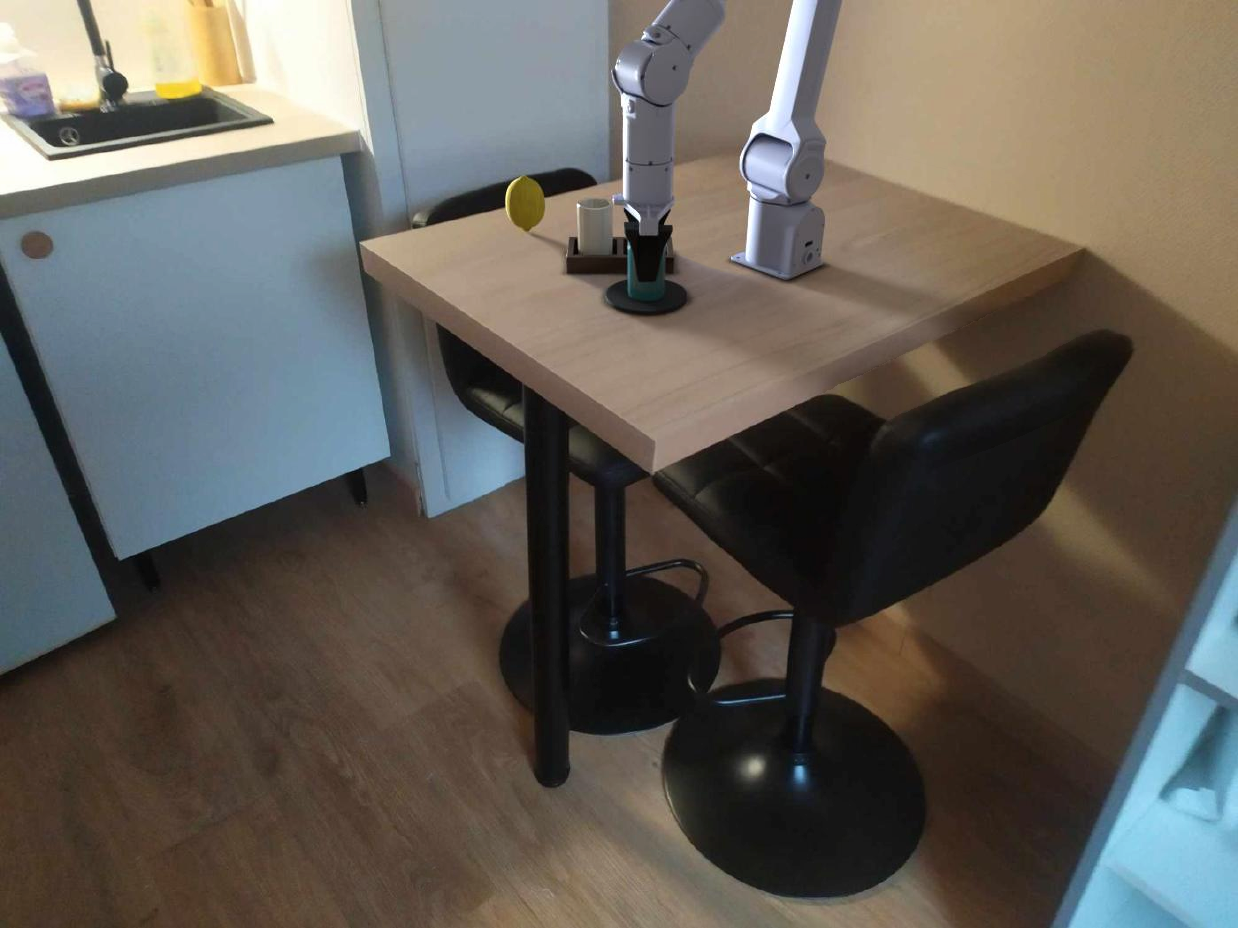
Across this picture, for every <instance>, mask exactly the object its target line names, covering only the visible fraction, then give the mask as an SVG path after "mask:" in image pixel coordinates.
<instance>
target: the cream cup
mask: <svg viewBox="0 0 1238 928" xmlns="http://www.w3.org/2000/svg"><path fill="white" fill-rule="evenodd" d="M613 205H614V204H613V201H612V200H610V199H608V198H605V197H585V198H582V199H580V200H577V202H576V219H577V221H576V224H577V237H578V254H577V255H614V254H613V237H614V226H613V225H614V224H613V222H614V221H613V218H614V217H613V213H614V212H613V209H614V208H613Z"/></svg>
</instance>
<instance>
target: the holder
mask: <svg viewBox="0 0 1238 928" xmlns="http://www.w3.org/2000/svg"><path fill="white" fill-rule="evenodd" d="M567 242H568V243H567V250H566V257H565V259H566V260H565V261H566V274H628V239H627V238H626V236H613V255H578V236H569V237H568V241H567ZM674 271H675V253H674V245H673V237H672V236H671V237H670V238H669V240H668V241H667V243H666V254H665V274H674Z"/></svg>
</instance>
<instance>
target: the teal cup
mask: <svg viewBox="0 0 1238 928" xmlns="http://www.w3.org/2000/svg"><path fill="white" fill-rule="evenodd" d="M627 255H628V273H627V279H628V296H629V297H630V298H632V299H635V300H638V301H654V300H658V299H660V298H662V297H663V296H664V291H665V280H666V273H665V255H666V245H665V248H664V251H663V254H662V257H661V262H660V267H659V272H658V275H657V279H656V281H655V282H638V279H637V275H636V270H635V263H634V257H633V253H632V249H631V246H630V244H629V241H628V254H627Z"/></svg>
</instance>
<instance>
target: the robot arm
mask: <svg viewBox="0 0 1238 928" xmlns="http://www.w3.org/2000/svg"><path fill="white" fill-rule="evenodd" d="M727 1H728V0H670V1H669V2H668V3H667V4H666V6H665V7H664V8H663V9H662V11H661V12H660V14H659V15H658V16H657V18H655V20H654V21H653V22H652V23H651V25H650V24H649V25H647V26H646V28H645V29H644V31H643V35H642V37H641V39H635V41H630V42H629V43H628V44H626V46H624V47H623V49H622V50H621V51H620V53H619V54H618V57H617V59H616V62H615V67H614V68H612V69H611V77H612V82H613V84H614V86H615V87H616V88H615V89H617V91H618V92H619V94H620V98H621V99H620V104H621V105H620V107H621V108H622V116H623V117H622V159H623V160H622V193H614V194H613V195H612V203H613V205H614V206H622V207H623V213H624V214H625V217H626V219H627V221H623V222H622V223H623V224H622V230H623V233H624V235H625V236H624V237H626V238H627V239H628V241H629V244H630V246H631V249H632V253H633V257H634V263H635V270H636V275H637V279H638V282H655V281H656V279H657V275H658V272H659V267H660V262H661V257H662V254H663V251H664V248H665V245H666V243H667V241H668V240H669V238H670V237H672V234H673V231H674V225H673V224H666V221H667V219H668V217H669V215H670V213H671V211H672V208H673V206H674V205H675V196H674V168H675V139H676V137H675V136H676V135H675V134H676V108H677V107H676V105H677V100H678V99H679V98H680V97H681V96H682V95H683V94H684V93H685V91H686V89H687V87H688V84H689V80H690V72H691V70H692V68H693V66H694V65H695V64H694V62H695V60H696V58H697V57H698V55H699V54H700V53H701V52H702V50H704V48H705V47H706V45H707V44H708V43H709V41H710V40H711V39H712V37H713V36H714V35H715V34H716V32H717V31H718V30H719V28H721V26H722V25H723V23H724V22H725V21H726V12H727V11H726V2H727ZM842 4H843V0H793V2H792V5H791V10H790V16H789V20H788V25H787V28H786V34H785V39H784V43H783V49H782V52H781V57H780V61H779V66H778V71H777V75H776V80H775V84H774V89H773V93H772V98H771V103H770V108H769V111H767V113H765V114H763V116H761V117H760V118H758V119H757V120H756V121H755V122H754V123H752V128H751V132H750V135H749V138H748V140H747V142H746V144H745V146H744V147H743V149H742V151H741V154H740V158H739V170H740V174H741V176H742V178H743V179H744V180H745V181H746V183H747V185H746V186H747V187H746V191H749V192H750V194H749V207H748V221H747V231H746V233H747V234H746V246H745V250H744V251H742V252H739V253H736V254H733V255H731V257H730V258H731V259H730V260H731V261H733V262H736V263H738V264H741V265H744V266H746V267H748V268H751V269H754V270H756V271H759V272H762V273H764V274H767V275H770V276H772V277H776V278H778V279H781V280H784V281H788V280H790V279H793V278H796V277H797V276H800V275H802V274H804V273H807V272H810V271H811V270H814V269H816V268H819V267H820V266H823V265H824V261H823V260H822V259H821V257H822V248H823V242H824V235H825V234H824V233H825V232H824V231H825V225H826V217H825V212H824V210H823V208H822V207H820V206H818V205H817V204H814V203H813V202H812V201H811V200H812V199H813V198H812V196H814V195H815V194H816V192H817V191H818V190H819V188H820V186H821V185H822V182H823V179H824V175H825V169H826V168H825V167H826V166H825V151H826V146H827V140H826V139H827V138H826V137H825V136H824V134H823V132H822V130H821V129H820V127H819V125H818V124H817V122H816V119H815V118H816V117H815V116H816V112H817V108H818V103H819V99H820V96H821V91H822V88H823V83H824V79H825V75H826V70H827V66H828V62H829V58H830V53H831V49H832V45H833V41H834V37H835V32H836V28H837V24H838V21H839V16H840V11H841V8H842Z"/></svg>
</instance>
